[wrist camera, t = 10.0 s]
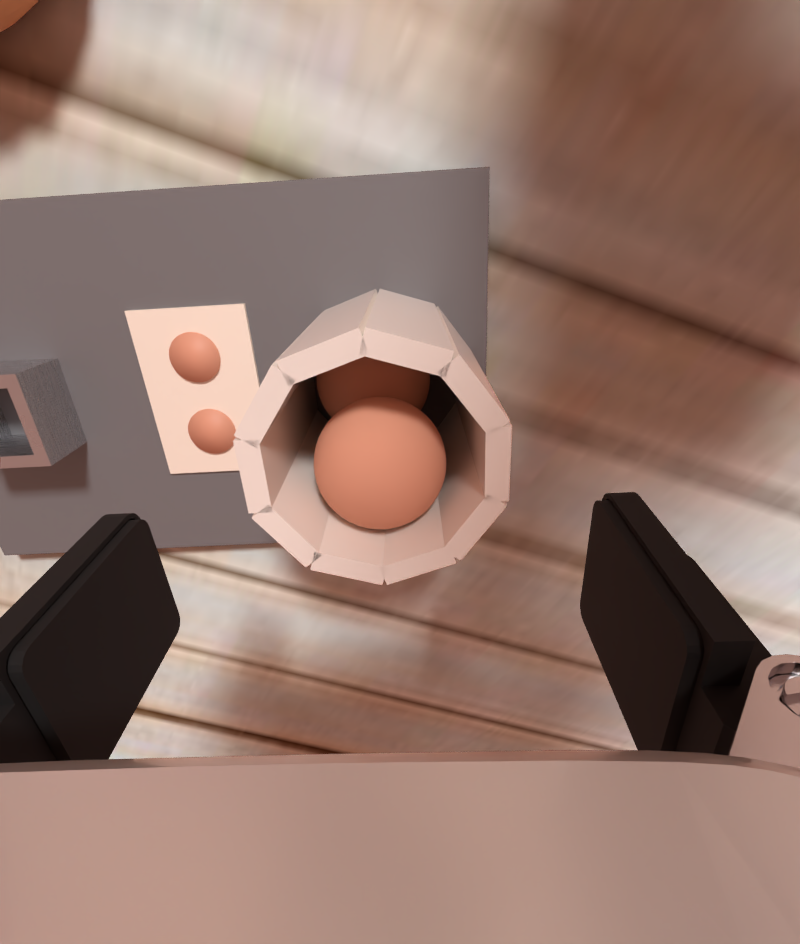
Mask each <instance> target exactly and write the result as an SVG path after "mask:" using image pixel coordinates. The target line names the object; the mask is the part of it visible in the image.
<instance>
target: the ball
mask: <svg viewBox="0 0 800 944" xmlns="http://www.w3.org/2000/svg"><path fill="white" fill-rule="evenodd" d="M314 474H315V478H316V482H317V485H318V488H319V490H320V492H321V494H322V496H323V498H324V499H325V501H326V502H327V504H328V505H329V506H330V507H331V508H332V509H333V510H334V511H335V512H336V513H337V514H338V515H339V516H341V517H342V518H344V519H345V520H347V521H349V522H351V523H353V524H355V525H358V526H361V527H364V528H369V529H391V528H396V527H400V526H403V525H405V524H407V523H410V522H412V521H413V520H415V519H416V518H418V517H419V516H421V515H422V514H423V513H424V512H425V511H427V510H428V508H429V507H430V506H431V505H432V504H433V503H434V501H435V500H436V498H437V496H438V495H439V493H440V490H441V488H442V486H443V482H444V479H445V474H446V452H445V447H444V443H443V441H442V438H441V435H440V434H439V432H438V430H437V428H436V427H435V425H434V424H433V422H432V421H431V420H430V419H429V418H428V417H427V416H426V415H425V414H424V413H423V412H422V411H421V410H419V409H418V408H416V407H415V406H413V405H412V404H409V403H407V402H405V401H403V400H399V399H396V398H391V397H369V398H364V399H360V400H357V401H355V402H353V403H351V404H349V405H347V406H345V407H344V408H342V409H341V410H339V411H338V412H337V413H336V414H335V415H334V416H333V417H332V418H331V419H330V420H329V421H328V422H327V424H326V425H325V427H324V428H323V430H322V431H321V434H320V436H319V438H318V441H317V444H316V447H315V453H314Z"/></svg>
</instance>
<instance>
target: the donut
mask: <svg viewBox="0 0 800 944" xmlns="http://www.w3.org/2000/svg"><path fill="white" fill-rule="evenodd" d="M38 1H39V0H0V32H2V31H3V30H5V29H7V28H9V27H10V26H12V25H14V24H15V23H16V22H17V21H18V20H19V19H20V18H21V17H22V16H23V15H24V14H25V13H27V12H28V11H29V10H30V9H31V8H32V7H33V6H34V5H35V4H36V3H37V2H38Z"/></svg>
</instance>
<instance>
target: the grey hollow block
mask: <svg viewBox="0 0 800 944" xmlns="http://www.w3.org/2000/svg"><path fill="white" fill-rule="evenodd" d="M4 388H7V389H8V392H9V394H10V397H11V399H12V402H13V404H14V406H15V409H16V411H17V414H18V416H19V419H20V421H21V424H22V426H23V429H24V431H25V434H19V435H12V434H11V431H10V429H9V426H8V424H7V422H6V419H5V417H4V415H3V412H2V410H1V407H0V469H2V468H22V467H42V466H52V465H54V464H55V463H57V462H58V461H59V460H61V459H62V458H64V457H65V456H67V455H68V454H70V453H71V452H73V451H74V450H76V449H77V448H79V447H80V446H82V445H83V444H85V443H86V442H87V440H86V437H85V434H84V431H83V428H82V426H81V423H80V420H79V417H78V414H77V411H76V409H75V406H74V403H73V400H72V397H71V394H70V391H69V389H68V386H67V383H66V380H65V377H64V374H63V372H62V369H61V366H60V363H59V360H58V358H50V359H33V360H16V361H0V389H4Z"/></svg>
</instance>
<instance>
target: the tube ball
mask: <svg viewBox="0 0 800 944" xmlns="http://www.w3.org/2000/svg"><path fill="white" fill-rule="evenodd" d="M429 386H430V374H429V373H426V372H423V371H419V370H415V369H411V368H407V367H404V366H400V365H396V364H392V363H388V362H384V361H381V360H377V359H373V358H369V357H365V356H364V357H362V358H359V359H356V360H354V361H351V362H349V363H346V364H344V365H341V366H339V367H336V368H334V369H331V370H328V371H326V372H323V373H321V374H318V375H317V389H318V393H319V397H320V400H321V402H322V404H323V406H324V408H325V409H326V411H327V412H328V414H329V415H330V416H331V417H333V416H334V415H335V414H336V413H337V412H338V411H339V410H341V409H342V408H344V407H345V406H347V405H349V404H351V403H353V402H355V401H357V400H360V399H364V398H369V397H391V398H396V399H399V400H403V401H405V402H407V403H409V404H412V405H413V406H415V407H416V408H418V409H419V410H421V409H422V407H423V406H424V403H425V401H426V399H427V395H428V391H429Z"/></svg>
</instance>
